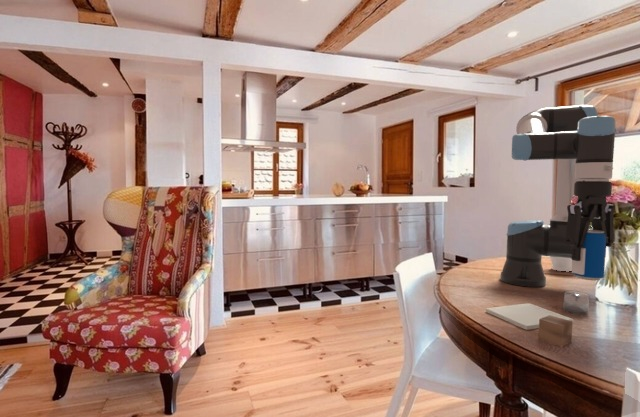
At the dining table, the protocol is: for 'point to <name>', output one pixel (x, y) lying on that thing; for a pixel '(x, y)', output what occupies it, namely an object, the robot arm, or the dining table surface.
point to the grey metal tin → (576, 302)
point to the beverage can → (594, 255)
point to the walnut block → (555, 330)
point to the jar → (561, 264)
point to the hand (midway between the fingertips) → (587, 272)
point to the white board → (523, 315)
